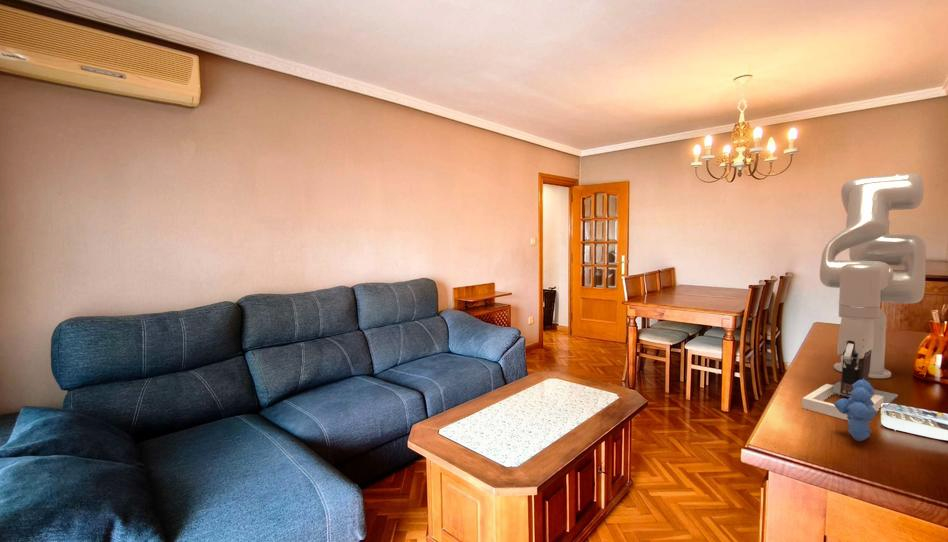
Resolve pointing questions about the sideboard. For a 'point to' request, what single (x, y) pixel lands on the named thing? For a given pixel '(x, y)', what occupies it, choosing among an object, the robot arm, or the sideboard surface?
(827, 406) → the white rectangular frame
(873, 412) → the grapes
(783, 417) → the sideboard surface
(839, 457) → the sideboard surface
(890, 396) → the mat
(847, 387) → the box
